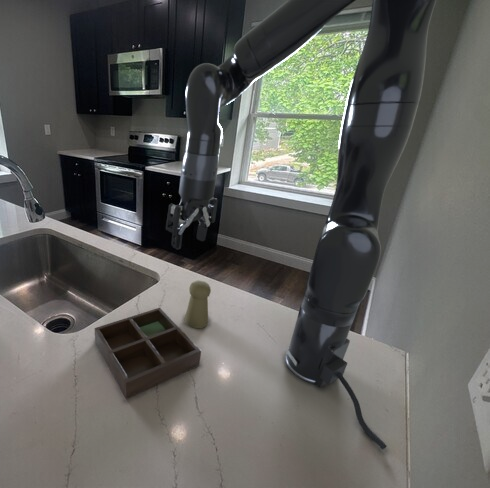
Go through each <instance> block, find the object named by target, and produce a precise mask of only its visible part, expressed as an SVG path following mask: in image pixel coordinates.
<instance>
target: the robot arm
mask: <svg viewBox="0 0 490 488" xmlns="http://www.w3.org/2000/svg"><path fill="white" fill-rule="evenodd" d="M356 1H357V0H286V1H285V2H284V3H282V4H281V5H280V6H279V7H278V8H276V9H275V10H274V11H273V12H271V13H270V14H269V15H268V16H266V17H265V18H264V19H263V20H261V21H260V22H259V23H258V24H256V25H255V26H253V28H252V29H250V30H249V31H248V32H247V33H245V34H244V35H243V36H242V37H241V38H239V40H238V41H237V42H236V43H235V44H234V46H233V49H232V54H231V55H230V56H229V57H228V58H227V59H225V60H224V61H223V62H222V63H221V64H219V65H216V64H213V63H209V62H204V63H200V64H198V65H197V66H195V67H194V68H193V69H192V71H191V72H190V74H189V76H188V79H187V82H186V86H185V92H184V93H185V94H184V96H185V97H184V100H185V103H184V104H185V115H186V116H185V117H186V125H187V132H186V137H185V138H186V139H185V146H184V148H185V149H184V154H183V158H182V162H181V170H180V178H179V188H178V194H179V196H180V202H179V204H174V203H170V204H168V209H167V217H166V222H165V230H166V231H167V232H169V233H171V234H172V235H171V242H170V246H171V247H172V248H174V250H177V251H179V250H181V248H182V242H183V236H184V235H183V233H184V231H186V228H189V226H190V225H191V224H192V223H193V222H195V221H198V223H199V224H198V226H197V232H196V239H197V240H198V241H199V242H204V241H206V237H207V233H208V227H210V225H211V223H212V224H214V223H215V222H216V217H217V210H218V203H219V199H218V198H215V197H214V195H215V189H216V183H217V176H218V171H219V159H220V158H219V157H220V151H221V144H222V139H223V128H222V126H221V124H220V123H219V114H220V113H219V112H220V108H222V107H224V106H226V105H228V104H230V103H231V102H233V101H235V99H237V98H238V97H239V96H240V95H242V93H243V92H245V91H246V90H247V89H248V88H249V87H250V86H251V85H252V84H253V83H254V82H255V81H257V80H258V79H260V78H261V77H262V76H264V75H266V74H267V73H269V72H270V71H271V70H273V69H274V68H276V67H277V66H279V65H280V64H281V63H283V62H285V61H286V60H288V59H289V58H290V57H292V56H293V55H294V54H296V53H297V52H298V51H299V50H300V49H301V48H303V47H304V46H306V44H308V43H309V41H311V40H312V39H313V38H314V37H315V36H316V35H317V34H318V33H319V32H320V31H321V30H322V29H323V28H324V27H326V26H327V25H328V24H329V23H330V22H331V21H332V20H333V19H334V18H336V17H337V16H338V15H340V13H342V12H343V11H344V10H346V9H347V7H349V6H350V5H352V4H353V3H355V2H356ZM436 3H437V0H372V3H371V4H372V5H371V10H370V11H371V12H370V18H369V25H368V30H367V35H366V39H365V42H364V45H363V48H362V50H361V54H360V56H359V59H358V61H357V65H356V68H355V70H354V73H353V76H352V80H351V83H350V86H349V91H348V94H347V98H346V101H345V107H344V112H343V116H342V121H341V127H340V134H339V140H338V150H337V151H338V152H337V173H336V184H335V189H334V195H333V198H332V202H331V204H330V208H329V211H328V214H327V217H326V220H325V223H324V225H323V228H322V230H321V232H320V236H319V238H318V243H317V245H316V249H315V253H314V256H313V259H312V263H311V267H310V269H309V270H310V271H309V274H308V277H307V281H306V285H305V289H304V292H303V296H302V298H301V299H302V300H301V303H300V306H299V310H298V314H297V317H296V321H295V325H294V328H293V331H292V335H291V338H290V343H289V347H288V348H286V351H285V352H286V355H285V358H284V359H285V364H286V366H287V369H288V370H289V371H290V372H291V373H292V374H293V375H295V376H296V377H297V378H299V379H301V380H302V381H304V382H307V383H309V384H313V385H315V386H316V387H317V388H322V387H324V386H325V385H327V384H328V385H330V384H332V383H333V382H335V381H337V380H339V381H340V383H341V384H342V386H343V387H344V389H345V390H346V392H347V393H348V395H349V397H350V399H351V402H352V404H353V405H354V412H355V416H356V420H357V421H358V424H359V425H360V427H361V428H362V430H363V431H364V433H366V435H367V436H368V437H369V439H371V440H372V441H373V442H375V444H377V446H379V448H380V449H381V450H385V449H386V448H387V447H388V445H387V444H386V443H385V442H384V441H383V440H382V439H381V438H380V437H379V436H377V434H375V433H374V432H373V431H372V430H371V428H370V427H369V426H368V425H367V423H366V421H365V420H364V417H363V414H362V409H361V405H360V402H359V399H358V398H357V396H356V394H355V392H354V390H353V389H352V387H351V386H350V384H349V382H348V381H347V380H346V378H345V377H344V373H345V371H346V369H347V366H348V362H347V361H346V360H344V359H345V356H346V353H347V351H348V348H349V345H350V343H351V340H350V339H349V338H348V336H349V333H350V331H351V328H352V325H353V323H354V320H355V318H356V315H357V312H358V310H359V307H360V304H361V303H362V302H363V300H364V299H365V297H366V295H367V292H368V291H369V288H370V285H371V283H372V280H373V278H374V275H375V273H376V271H377V268H378V265H379V263H380V259H381V255H382V244H381V241H380V236H379V224H380V215H381V209H382V204H383V199H384V195H385V192H386V189H387V186H388V184H389V181H390V179H391V177H392V175H393V173H394V171H395V170H396V168H397V165H398V163H399V162H400V159H401V158H402V155H403V153H404V150H405V148H406V146H407V144H408V141H409V138H410V135H411V132H412V129H413V125H414V123H415V119H416V115H417V112H418V108H419V105H420V104H419V103H420V100H421V97H422V92H423V86H424V79H425V72H426V62H427V61H426V60H427V48H428V35H429V28H430V23H431V20H432V16H433V12H434V10H435V9H434V8H435V7H436ZM182 218H183V219H184V220H183V219H182Z"/></svg>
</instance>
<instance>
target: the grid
mask: <svg viewBox="0 0 490 488" xmlns="http://www.w3.org/2000/svg"><path fill="white" fill-rule="evenodd" d="M94 343H95V345H96V347H97V349H98V351H99V352H100V354H101V356H102V358H103V360H104V361H105V363H106V365H107V367H108V369H109V370H110V373H111V374H112V376H113V378H114V380H115V382H116V384H117V385H118V387H119V389H120V390H121V392H122V394H123V396H124V399H125V400H129V399H130V398H133V397H135V396H137V395H139V394H142V393H143V392H145V391H147V390H149V389H152V388H154V387H157V386H159V385H161V384H163V383H165V382H167V381H170V380H171V379H174V378H175V377H178V376H180V375H182V374H184V373H186V372H189V371H191V370H193V369H195V368H198V367H200V363H201V354H202V350H201V348H199V346H198V345H196V344H195V343H194V342H193V341H192V339H191V338H190V337H189V336H188V335H187V334H186V333H185V332H184V331H183V330H182V329H181V327H179V325H178V324H176V323H175V322H174V321H173V320H172V318H171V317H170V316H169V315H168V314H167V313H166V312H165V311H164V310H163V309H162V308H161V307H157V308H154V309H151V310H148V311H144V312H141V313H138V314H135V315H132V316H128V317H125V318H121V319H119V320H116V321H113V322H110V323H109V322H108V323H107V324H103V325H100V326H97V327H94Z"/></svg>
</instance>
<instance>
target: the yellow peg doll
mask: <svg viewBox="0 0 490 488" xmlns="http://www.w3.org/2000/svg"><path fill="white" fill-rule="evenodd" d="M211 292H212V289H211V285H210V284H209V283H208V282H206V281H205V280H195V281H193V282H191V284H190V285H189V294H190V297H189V300H188V305H187V309H186V312H185V317H184V322H185V324H186V325H187V326H188V327H190V328H194V329H203V328H206V327H207V326H208V324H209V299H208V298H209V297H210V294H211Z"/></svg>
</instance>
